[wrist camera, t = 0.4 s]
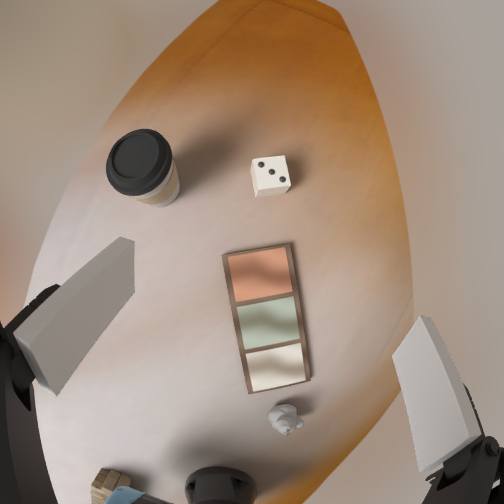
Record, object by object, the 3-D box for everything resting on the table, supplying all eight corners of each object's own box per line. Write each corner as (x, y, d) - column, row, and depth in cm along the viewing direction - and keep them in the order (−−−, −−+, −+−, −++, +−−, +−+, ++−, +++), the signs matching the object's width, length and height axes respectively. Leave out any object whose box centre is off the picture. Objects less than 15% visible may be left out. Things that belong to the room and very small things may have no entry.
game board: (309, 378, 44) (311, 380, 43) (248, 391, 44) (248, 394, 42) (288, 244, 45) (290, 243, 44) (221, 255, 44) (221, 255, 43)
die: (284, 193, 46) (291, 185, 41) (255, 197, 45) (258, 189, 40) (279, 166, 46) (284, 155, 41) (250, 169, 46) (252, 158, 40)
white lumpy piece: (273, 396, 44) (280, 418, 36) (305, 404, 44) (318, 426, 36) (261, 419, 43) (266, 443, 35) (293, 427, 44) (302, 450, 36)
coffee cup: (196, 176, 45) (182, 137, 30) (169, 223, 44) (142, 203, 29) (153, 155, 44) (125, 114, 29) (127, 200, 44) (87, 173, 29)
